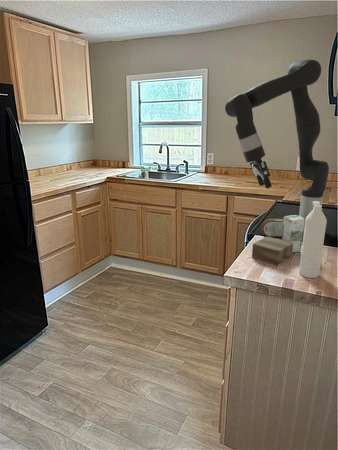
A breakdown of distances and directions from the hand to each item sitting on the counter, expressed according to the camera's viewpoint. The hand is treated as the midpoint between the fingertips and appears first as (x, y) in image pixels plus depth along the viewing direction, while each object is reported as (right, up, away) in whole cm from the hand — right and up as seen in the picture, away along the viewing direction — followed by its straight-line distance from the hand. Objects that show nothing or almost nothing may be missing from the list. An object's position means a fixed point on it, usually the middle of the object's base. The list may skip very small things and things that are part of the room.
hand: (265, 186), depth 128 cm
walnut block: (+2, -28, 0) cm, 28 cm away
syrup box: (+12, -26, +5) cm, 29 cm away
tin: (+12, -21, +21) cm, 32 cm away
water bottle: (+11, -32, -13) cm, 37 cm away
